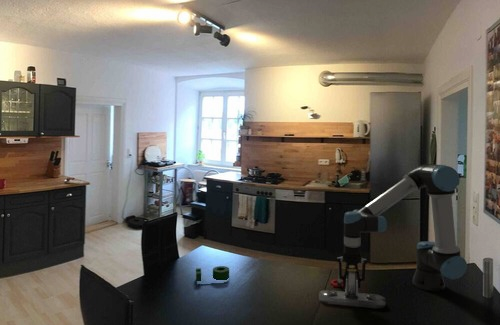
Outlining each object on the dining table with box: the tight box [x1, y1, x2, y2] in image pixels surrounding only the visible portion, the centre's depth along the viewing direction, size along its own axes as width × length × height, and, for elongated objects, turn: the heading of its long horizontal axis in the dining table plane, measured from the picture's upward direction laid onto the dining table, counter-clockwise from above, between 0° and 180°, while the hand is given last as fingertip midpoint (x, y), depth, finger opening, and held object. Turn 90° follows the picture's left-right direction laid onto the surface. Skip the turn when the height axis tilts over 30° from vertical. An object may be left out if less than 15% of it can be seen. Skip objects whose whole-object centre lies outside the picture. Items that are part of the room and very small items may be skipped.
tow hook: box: [330, 276, 345, 289], centre depth 180 cm, size 8×13×9 cm
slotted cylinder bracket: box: [195, 265, 230, 282], centre depth 185 cm, size 18×9×6 cm, turn 101°
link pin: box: [346, 265, 357, 299], centre depth 159 cm, size 5×5×14 cm
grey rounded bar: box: [318, 289, 386, 309], centre depth 159 cm, size 30×8×4 cm, turn 77°
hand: (351, 293), depth 159 cm, fingers closed on link pin, 4 cm apart
